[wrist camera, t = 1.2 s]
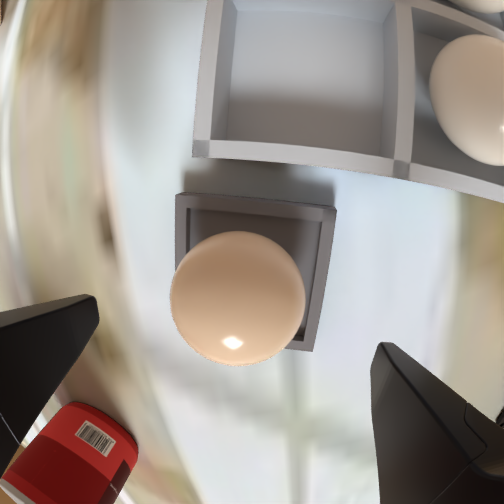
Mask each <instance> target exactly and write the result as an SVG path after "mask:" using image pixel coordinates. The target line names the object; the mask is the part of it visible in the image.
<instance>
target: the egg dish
mask: <svg viewBox="0 0 504 504" xmlns="http://www.w3.org/2000/svg"><path fill="white" fill-rule="evenodd" d="M336 213H337V210H336V208H335V207H332V206H324V205H316V204H307V203H299V202H290V201H280V200H271V199H261V198H250V197H239V196H227V195H215V194H202V193H187V192H183V193H180V194H177V195H175V272H176V270H177V268H178V266H179V264H180V262H181V261H182V259H183V258H184V256H185V255H186V254H187V253H188V252H189V251H190V250H191V249H192V248H193V247H194V246H196V245H197V244H198V243H200V242H201V241H203V240H205V239H207V238H209V237H211V236H213V235H216V234H219V233H224V232H230V231H246V232H252V233H256V234H259V235H262V236H264V237H267V238H269V239H271V240H272V241H274V242H276V243H277V244H278V245H280V246H281V247H282V248H283V249H284V250H285V251H286V252H287V253H288V254H289V255H290V256H291V257H292V259H293V260H294V262H295V263H296V265H297V267H298V269H299V271H300V273H301V275H302V278H303V282H304V286H305V295H306V303H305V311H304V316H303V320H302V322H301V325H300V327H299V329H298V331H297V333H296V334H295V336H294V338H293V339H292V340H291V341H290V342H289V344H288V345H287V346H286V347H285V349H293V350H301V351H310V352H313V348H314V343H315V338H316V333H317V328H318V323H319V318H320V313H321V308H322V302H323V297H324V291H325V286H326V280H327V274H328V268H329V262H330V255H331V249H332V242H333V235H334V228H335V221H336Z"/></svg>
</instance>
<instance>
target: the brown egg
mask: <svg viewBox="0 0 504 504" xmlns="http://www.w3.org/2000/svg"><path fill="white" fill-rule="evenodd" d="M305 303H306V295H305V286H304V282H303V278H302V275H301V273H300V271H299V269H298V267H297V265H296V263H295V262H294V260H293V259H292V257H291V256H290V255H289V254H288V253H287V252H286V251H285V250H284V249H283V248H282V247H281V246H280V245H278V244H277V243H276V242H274V241H272V240H271V239H269V238H267V237H264V236H262V235H259V234H256V233H252V232H246V231H230V232H224V233H219V234H216V235H213V236H211V237H209V238H207V239H205V240H203V241H201V242H200V243H198V244H197V245H196V246H194V247H193V248H192V249H191V250H190V251H189V252H188V253H187V254H186V255H185V256H184V258H183V259H182V261H181V262H180V264H179V266H178V268H177V270H176V272H175V274H174V277H173V280H172V284H171V290H170V306H171V313H172V317H173V320H174V322H175V325H176V327H177V329H178V331H179V333H180V335H181V336H182V338H183V339H184V340H185V341H186V343H187V344H188V345H189V346H190V347H191V348H192V349H193V350H195V351H196V352H197V353H199V354H200V355H202V356H203V357H205V358H207V359H209V360H211V361H214V362H217V363H220V364H224V365H229V366H247V365H252V364H257V363H260V362H263V361H265V360H267V359H269V358H271V357H273V356H274V355H276V354H277V353H279V352H280V351H281V350H283V349H284V348H285V347H286V346H287V345H288V344H289V342H290V341H291V340H292V339H293V338H294V336H295V334H296V333H297V331H298V329H299V327H300V325H301V322H302V320H303V316H304V311H305Z"/></svg>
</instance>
